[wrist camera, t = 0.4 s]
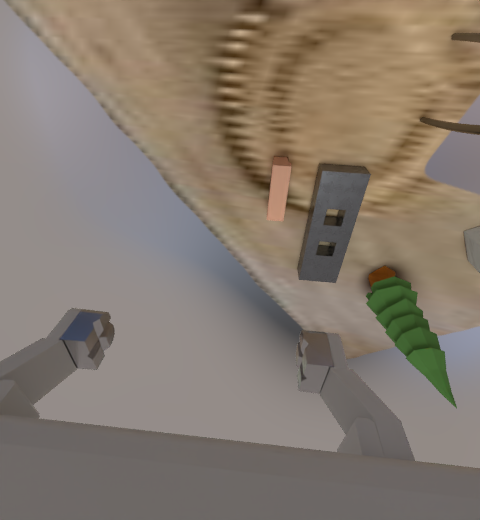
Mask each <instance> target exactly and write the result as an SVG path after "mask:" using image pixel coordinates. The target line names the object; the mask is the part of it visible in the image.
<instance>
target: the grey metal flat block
mask: <svg viewBox="0 0 480 520" xmlns="http://www.w3.org/2000/svg"><path fill="white" fill-rule="evenodd" d="M370 175H371V174H370V173H369V172H368V171H367V169H366V168H365V167H361V166H347V165H333V164H319V167H318V172H317V177H316V182H315V186H314V191H313V196H312V201H311V206H310V210H309V215H308V220H307V225H306V230H305V235H304V239H303V244H302V249H301V254H300V259H299V263H298V268H297V269H298V276H299V280H309V281H321V282H332V283H336V281H337V277H338V274H339V271H340V268H341V265H342V262H343V259H344V256H345V253H346V250H347V246H348V243H349V240H350V237H351V234H352V231H353V228H354V225H355V222H356V218H357V215H358V212H359V209H360V206H361V203H362V200H363V197H364V194H365V191H366V187H367V184H368V181H369V178H370ZM327 209H337V210H339V212H338V216H337V217H334V216H326V212H327ZM319 241H324V242H330V245H329V246H325V245H318V244H319Z"/></svg>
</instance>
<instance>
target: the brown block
mask: <svg viewBox="0 0 480 520" xmlns="http://www.w3.org/2000/svg"><path fill="white" fill-rule="evenodd" d="M291 167H292V166H291V163H288V157H275V156H274V161H273V165H272V174H271V183H270V192H269V201H268V210H267V220H274V221H283V220H284V213H285V206H286V200H287V193H288V186H289V180H290V173H291Z"/></svg>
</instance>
